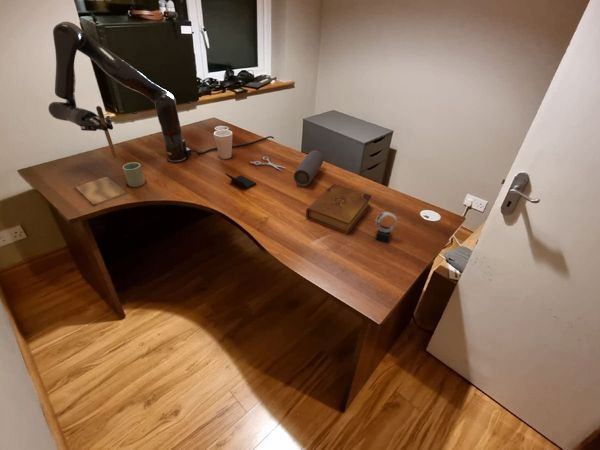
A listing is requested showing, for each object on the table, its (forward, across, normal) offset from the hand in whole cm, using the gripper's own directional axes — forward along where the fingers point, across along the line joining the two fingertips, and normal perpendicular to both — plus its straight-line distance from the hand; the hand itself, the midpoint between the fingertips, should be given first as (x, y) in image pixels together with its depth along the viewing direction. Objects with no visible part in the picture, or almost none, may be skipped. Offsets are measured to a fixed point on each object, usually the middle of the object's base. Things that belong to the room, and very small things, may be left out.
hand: (109, 127), depth 133 cm
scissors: (+39, +56, +28) cm, 73 cm away
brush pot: (0, +4, +28) cm, 28 cm away
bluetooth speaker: (+62, +57, +28) cm, 88 cm away
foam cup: (+13, +50, +28) cm, 59 cm away
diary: (+88, +38, +28) cm, 99 cm away
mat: (-8, -8, +28) cm, 30 cm away
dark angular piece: (+39, +32, +28) cm, 58 cm away
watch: (+109, +33, +28) cm, 117 cm away
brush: (-3, 0, +14) cm, 14 cm away
